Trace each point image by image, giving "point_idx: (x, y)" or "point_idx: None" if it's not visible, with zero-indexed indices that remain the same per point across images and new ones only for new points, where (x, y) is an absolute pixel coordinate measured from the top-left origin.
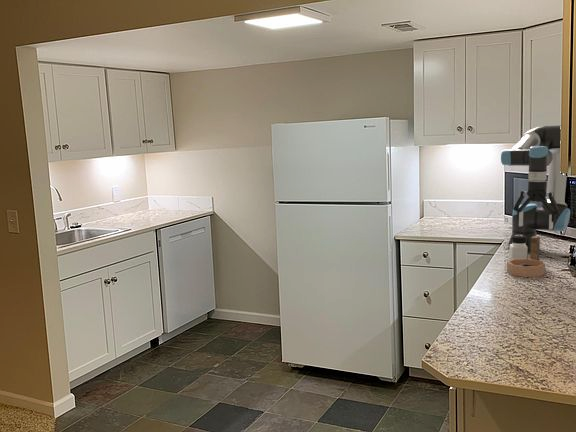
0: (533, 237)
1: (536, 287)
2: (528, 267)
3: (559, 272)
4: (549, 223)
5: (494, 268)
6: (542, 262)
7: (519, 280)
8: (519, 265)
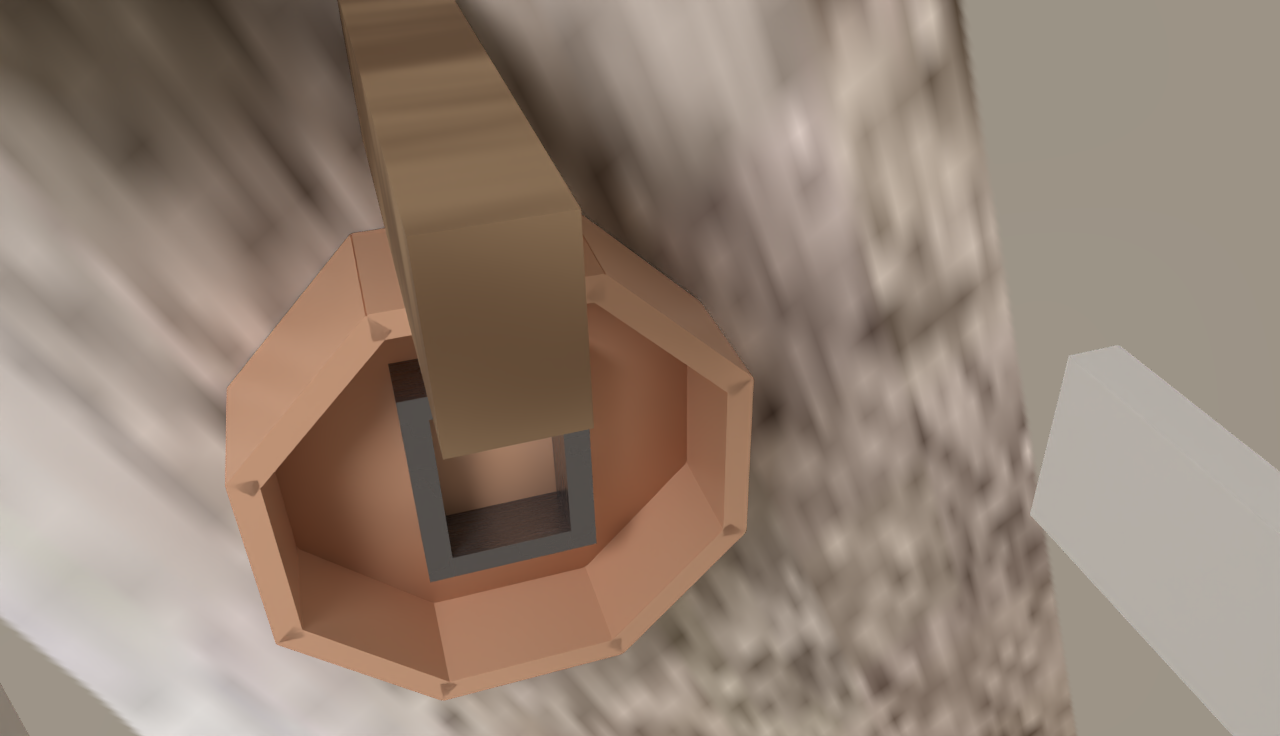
0: (506, 433)
1: (804, 707)
2: (642, 627)
3: (828, 115)
4: (1168, 650)
5: (31, 546)
6: (694, 350)
7: (597, 675)
8: (424, 519)
